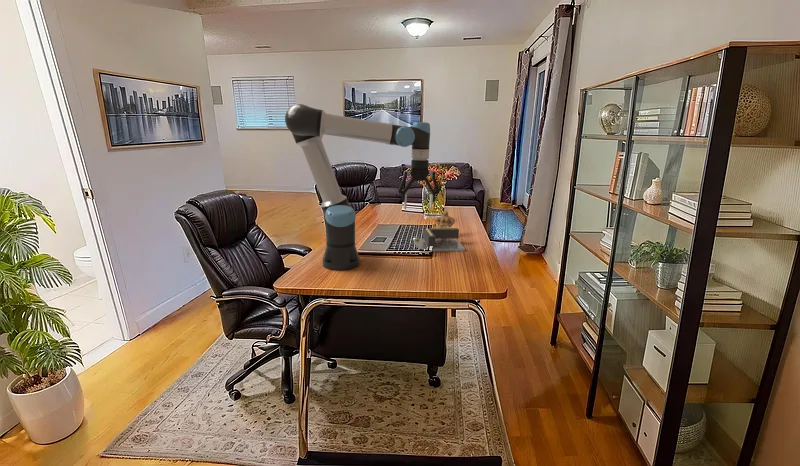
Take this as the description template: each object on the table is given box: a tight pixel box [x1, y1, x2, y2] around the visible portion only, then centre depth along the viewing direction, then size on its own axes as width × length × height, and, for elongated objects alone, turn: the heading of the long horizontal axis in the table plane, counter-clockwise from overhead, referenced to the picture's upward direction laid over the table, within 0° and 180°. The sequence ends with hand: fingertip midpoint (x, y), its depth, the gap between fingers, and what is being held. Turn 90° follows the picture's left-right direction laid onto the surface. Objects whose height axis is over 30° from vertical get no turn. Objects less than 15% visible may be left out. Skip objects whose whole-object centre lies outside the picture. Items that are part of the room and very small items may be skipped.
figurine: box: [434, 210, 456, 228], centre depth 199 cm, size 11×9×15 cm
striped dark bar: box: [422, 227, 436, 246], centre depth 179 cm, size 3×14×6 cm, turn 7°
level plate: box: [412, 236, 466, 252], centre depth 181 cm, size 22×16×2 cm
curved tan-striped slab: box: [429, 227, 460, 240], centre depth 186 cm, size 3×14×6 cm, turn 97°
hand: (418, 208), depth 168 cm, fingers open, 11 cm apart
